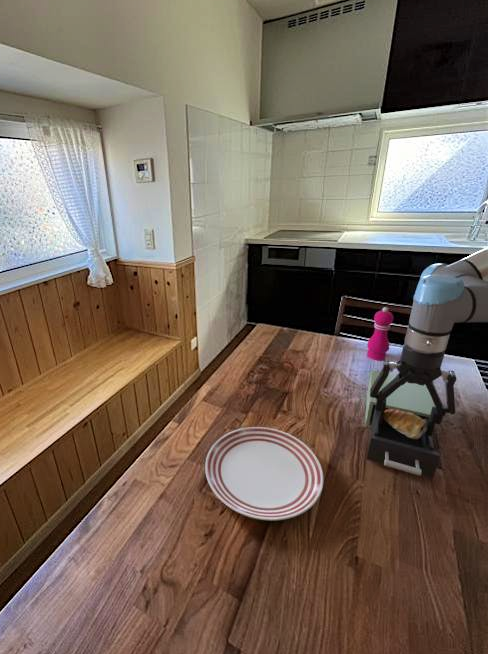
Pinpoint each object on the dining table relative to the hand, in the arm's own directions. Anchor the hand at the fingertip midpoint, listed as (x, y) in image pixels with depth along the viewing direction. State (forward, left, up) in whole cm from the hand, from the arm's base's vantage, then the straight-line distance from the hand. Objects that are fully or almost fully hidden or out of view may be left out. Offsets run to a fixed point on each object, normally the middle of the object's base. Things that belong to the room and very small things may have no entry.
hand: (403, 426), depth 82 cm
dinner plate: (+29, +21, -8) cm, 37 cm away
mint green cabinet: (0, -15, -8) cm, 17 cm away
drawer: (0, +1, -7) cm, 7 cm away
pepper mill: (+5, -49, -8) cm, 50 cm away
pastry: (0, 0, 0) cm, 0 cm away
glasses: (+38, -20, -8) cm, 44 cm away
